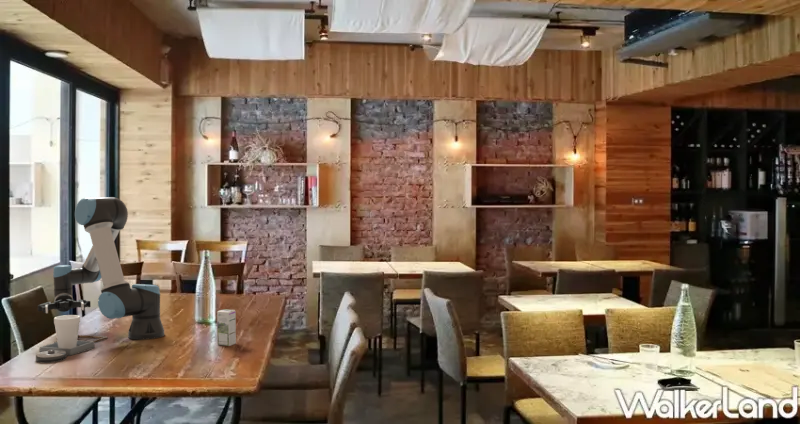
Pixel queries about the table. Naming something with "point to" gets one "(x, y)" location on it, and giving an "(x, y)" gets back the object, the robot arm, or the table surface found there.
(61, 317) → the foam cup
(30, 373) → the table surface
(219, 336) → the syrup box
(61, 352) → the metal pot lid
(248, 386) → the table surface
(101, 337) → the square wooden frame
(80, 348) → the tray
